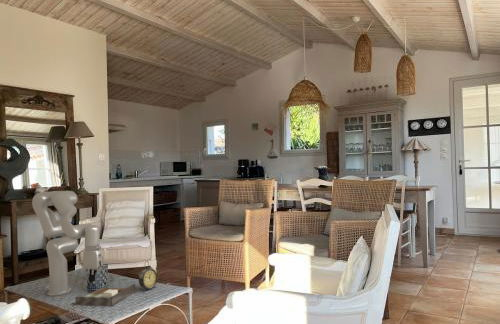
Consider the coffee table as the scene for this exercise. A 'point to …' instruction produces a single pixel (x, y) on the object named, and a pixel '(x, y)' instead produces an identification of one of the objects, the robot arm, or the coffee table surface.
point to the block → (110, 293)
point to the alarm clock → (147, 278)
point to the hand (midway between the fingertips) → (92, 281)
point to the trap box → (100, 300)
